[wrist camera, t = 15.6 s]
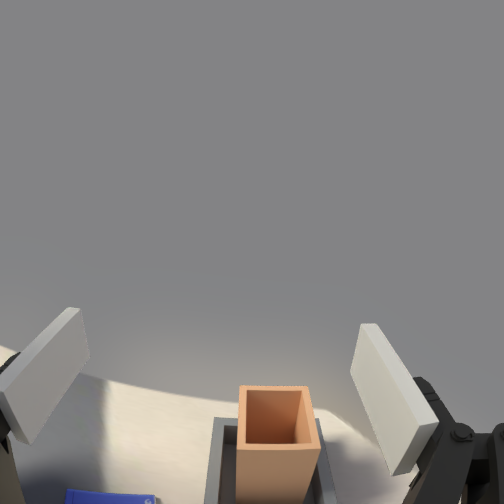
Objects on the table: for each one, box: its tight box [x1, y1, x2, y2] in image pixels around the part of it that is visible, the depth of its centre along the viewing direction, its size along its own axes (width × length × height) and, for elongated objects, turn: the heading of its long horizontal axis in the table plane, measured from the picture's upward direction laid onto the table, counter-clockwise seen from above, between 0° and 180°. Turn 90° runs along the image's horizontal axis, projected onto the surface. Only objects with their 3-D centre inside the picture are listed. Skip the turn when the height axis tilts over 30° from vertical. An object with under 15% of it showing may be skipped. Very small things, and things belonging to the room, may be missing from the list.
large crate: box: [204, 417, 338, 504], centre depth 35 cm, size 15×17×6 cm
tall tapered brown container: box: [235, 385, 321, 504], centre depth 33 cm, size 8×10×14 cm
